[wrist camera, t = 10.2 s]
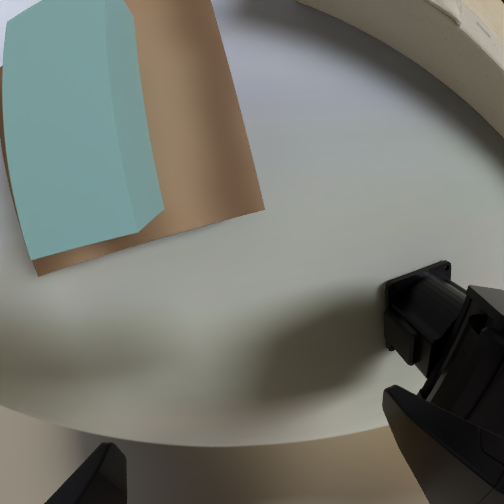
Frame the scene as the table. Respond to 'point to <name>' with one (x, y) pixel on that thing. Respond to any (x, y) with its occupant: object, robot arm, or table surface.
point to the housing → (76, 125)
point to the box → (440, 42)
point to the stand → (181, 127)
